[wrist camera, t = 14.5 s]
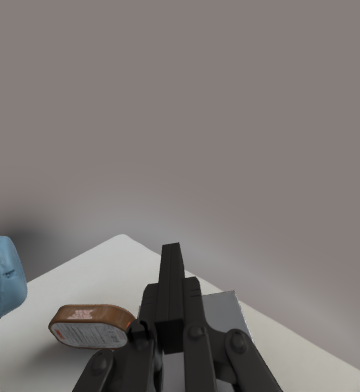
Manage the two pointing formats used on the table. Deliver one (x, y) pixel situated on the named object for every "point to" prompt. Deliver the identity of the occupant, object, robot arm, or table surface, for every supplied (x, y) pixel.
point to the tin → (91, 326)
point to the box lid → (219, 320)
